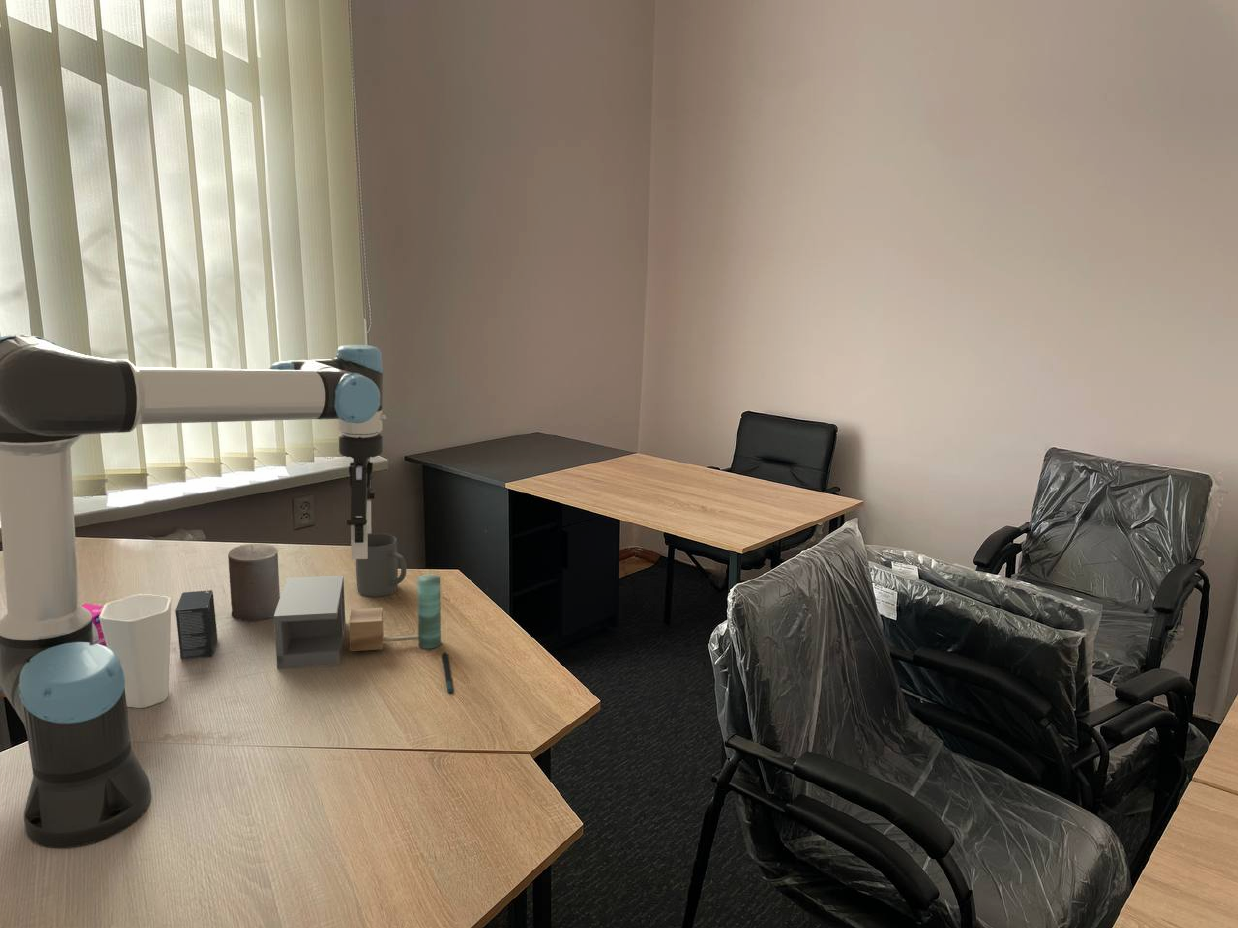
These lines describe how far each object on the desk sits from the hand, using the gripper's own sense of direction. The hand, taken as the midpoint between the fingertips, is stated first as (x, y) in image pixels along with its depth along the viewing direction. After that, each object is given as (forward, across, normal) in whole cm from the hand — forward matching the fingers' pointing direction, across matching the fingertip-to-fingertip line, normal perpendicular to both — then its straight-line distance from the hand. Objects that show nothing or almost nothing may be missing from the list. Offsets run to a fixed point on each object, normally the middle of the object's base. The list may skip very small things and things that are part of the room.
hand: (361, 545), depth 159 cm
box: (+24, +10, +31) cm, 41 cm away
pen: (+24, -6, -16) cm, 29 cm away
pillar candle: (+24, +26, +23) cm, 42 cm away
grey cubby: (+24, +9, +10) cm, 27 cm away
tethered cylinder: (+23, +6, -6) cm, 25 cm away
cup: (+25, -8, +36) cm, 44 cm away
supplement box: (+25, +4, +48) cm, 54 cm away
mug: (+23, +33, -3) cm, 40 cm away
